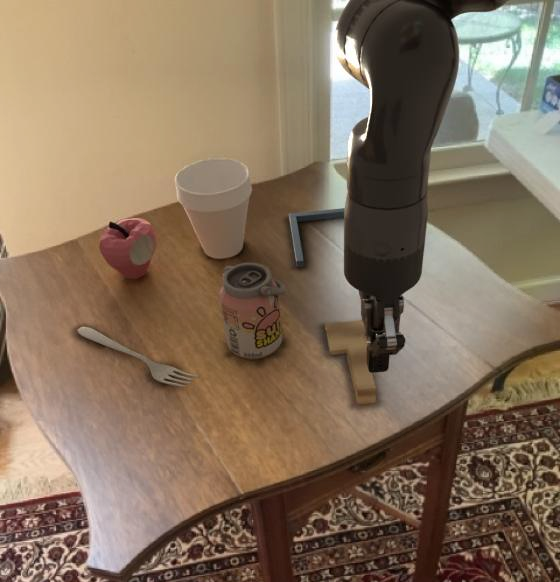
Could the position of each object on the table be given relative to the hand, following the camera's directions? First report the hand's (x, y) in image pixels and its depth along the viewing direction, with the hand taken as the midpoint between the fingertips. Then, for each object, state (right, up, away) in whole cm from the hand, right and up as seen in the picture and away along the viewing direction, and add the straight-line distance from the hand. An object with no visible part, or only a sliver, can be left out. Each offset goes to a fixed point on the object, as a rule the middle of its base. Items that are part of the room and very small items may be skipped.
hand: (377, 367), depth 73 cm
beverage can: (-14, +4, +23) cm, 27 cm away
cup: (-21, +21, +42) cm, 51 cm away
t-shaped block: (0, +1, +19) cm, 19 cm away
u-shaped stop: (-2, +23, +42) cm, 48 cm away
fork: (-32, +1, +23) cm, 39 cm away
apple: (-35, +16, +38) cm, 54 cm away
